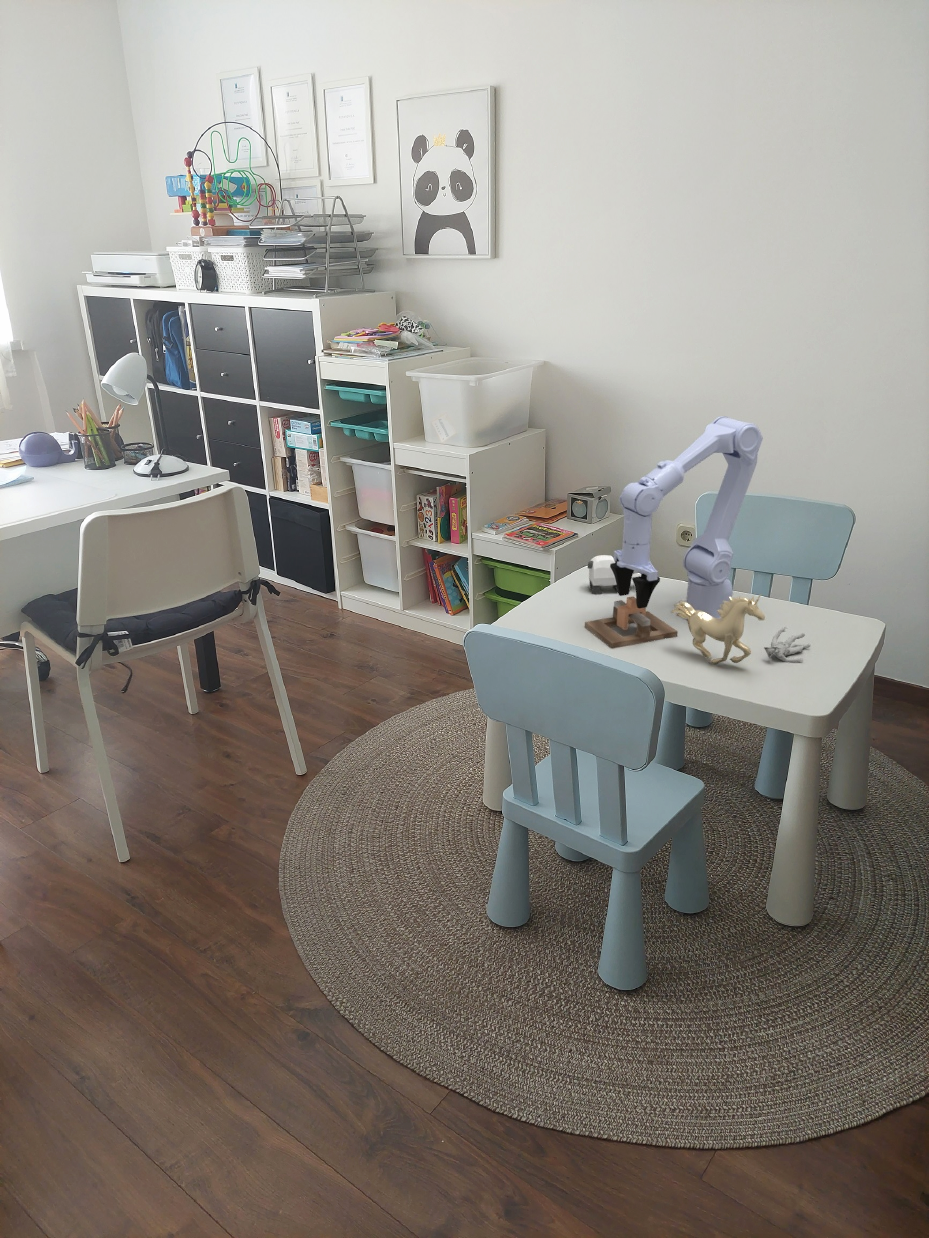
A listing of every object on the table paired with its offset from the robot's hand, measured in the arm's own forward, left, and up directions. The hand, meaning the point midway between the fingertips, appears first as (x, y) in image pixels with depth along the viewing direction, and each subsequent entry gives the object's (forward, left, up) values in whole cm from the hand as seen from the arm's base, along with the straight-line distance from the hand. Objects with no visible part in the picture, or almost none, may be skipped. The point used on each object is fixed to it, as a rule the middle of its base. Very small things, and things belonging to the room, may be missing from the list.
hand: (632, 601), depth 191 cm
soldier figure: (-23, +22, -8) cm, 33 cm away
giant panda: (-9, -23, -7) cm, 26 cm away
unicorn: (-7, +19, -7) cm, 22 cm away
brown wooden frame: (0, 0, -7) cm, 7 cm away
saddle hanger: (0, 0, -6) cm, 6 cm away
